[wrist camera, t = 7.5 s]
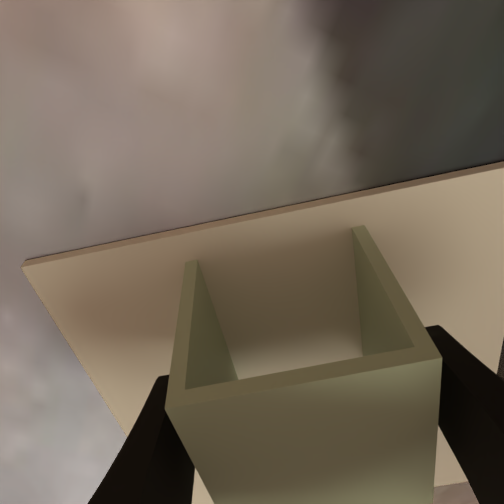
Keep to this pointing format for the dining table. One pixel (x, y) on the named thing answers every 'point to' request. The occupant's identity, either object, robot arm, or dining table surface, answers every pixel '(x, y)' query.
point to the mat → (286, 286)
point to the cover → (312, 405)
